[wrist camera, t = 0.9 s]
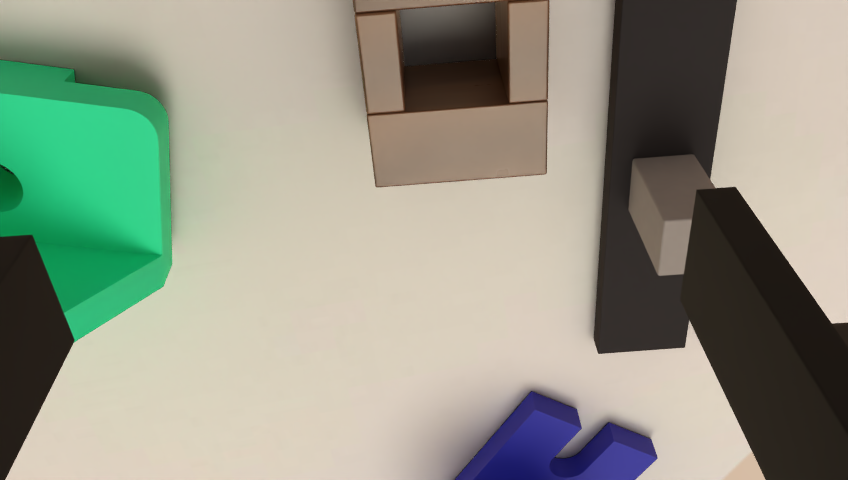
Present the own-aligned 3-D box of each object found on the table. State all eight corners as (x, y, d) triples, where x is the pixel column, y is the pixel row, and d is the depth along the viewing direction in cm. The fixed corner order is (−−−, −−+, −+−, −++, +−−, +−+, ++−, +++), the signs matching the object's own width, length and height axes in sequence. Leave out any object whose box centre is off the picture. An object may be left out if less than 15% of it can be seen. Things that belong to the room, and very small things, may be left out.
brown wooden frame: (349, -110, 26) (342, -82, 23) (532, -126, 26) (551, -100, 23) (377, 136, 31) (375, 188, 28) (530, 123, 31) (546, 174, 28)
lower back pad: (618, -54, 28) (662, -4, 23) (735, -64, 27) (802, -16, 23) (593, 339, 38) (620, 428, 33) (678, 333, 38) (718, 421, 33)
